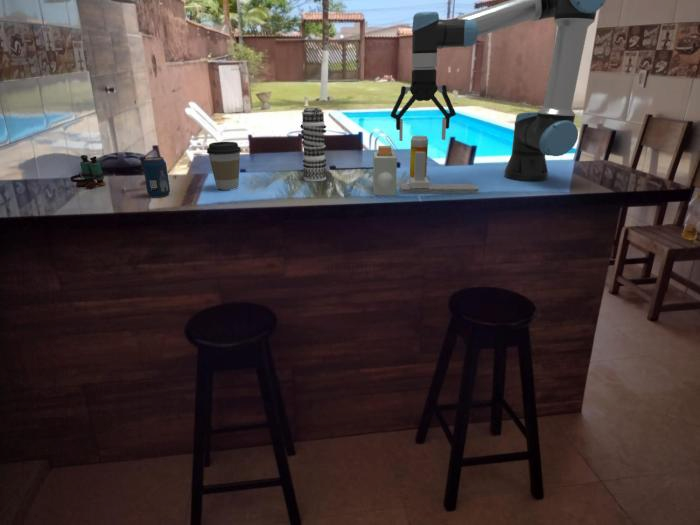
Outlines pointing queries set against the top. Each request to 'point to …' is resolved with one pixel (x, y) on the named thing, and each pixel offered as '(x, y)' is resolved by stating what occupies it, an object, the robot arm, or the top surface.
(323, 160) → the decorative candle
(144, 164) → the soda can
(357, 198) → the top surface
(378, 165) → the white block
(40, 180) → the top surface
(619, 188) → the top surface
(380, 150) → the button
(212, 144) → the coffee cup
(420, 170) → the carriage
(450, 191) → the rail
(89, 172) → the binoculars
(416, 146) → the beer can
